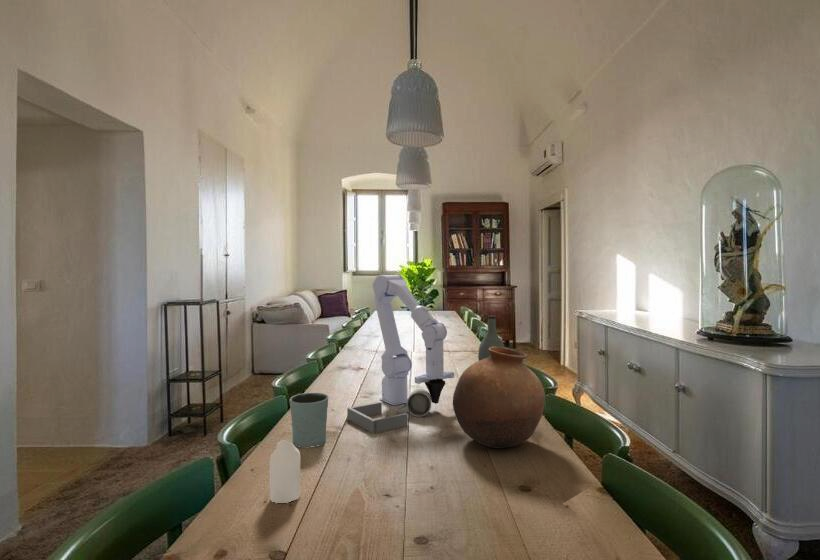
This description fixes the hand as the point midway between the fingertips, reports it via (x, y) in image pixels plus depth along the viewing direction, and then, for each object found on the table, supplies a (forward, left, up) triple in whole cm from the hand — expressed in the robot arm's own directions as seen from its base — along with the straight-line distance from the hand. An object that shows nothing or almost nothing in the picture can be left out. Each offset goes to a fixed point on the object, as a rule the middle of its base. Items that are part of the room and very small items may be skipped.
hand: (435, 402), depth 156 cm
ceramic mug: (-1, -7, -3) cm, 8 cm away
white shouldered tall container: (+31, -61, -3) cm, 68 cm away
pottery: (+34, -5, -3) cm, 34 cm away
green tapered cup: (+4, -45, -3) cm, 45 cm away
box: (0, -22, -2) cm, 22 cm away
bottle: (+7, +18, -3) cm, 20 cm away
